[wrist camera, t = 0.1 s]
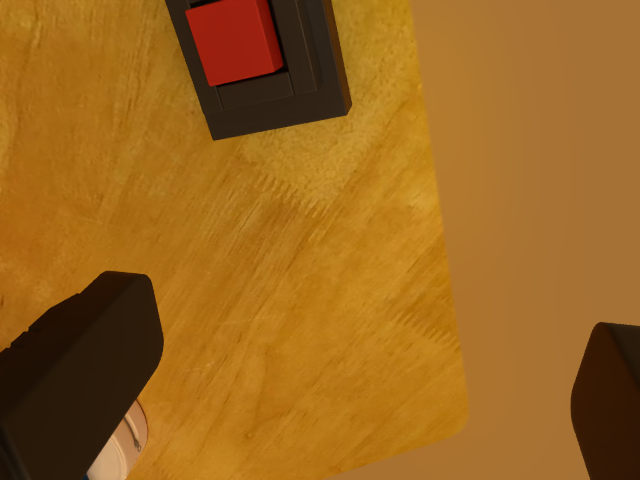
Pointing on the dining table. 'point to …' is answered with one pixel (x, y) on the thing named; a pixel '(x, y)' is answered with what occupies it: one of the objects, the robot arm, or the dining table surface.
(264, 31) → the red button cap
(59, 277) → the dining table surface
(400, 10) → the dining table surface
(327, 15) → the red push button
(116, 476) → the lotus flower trinket box
